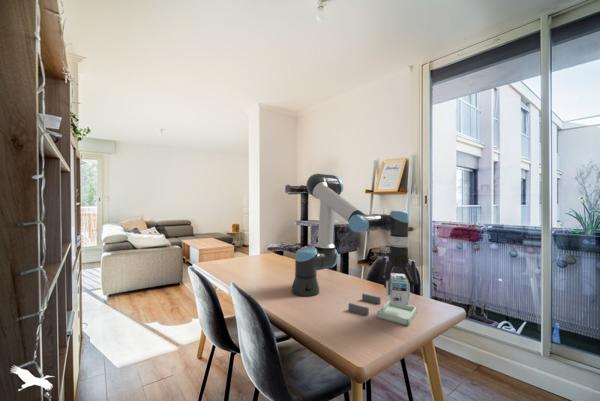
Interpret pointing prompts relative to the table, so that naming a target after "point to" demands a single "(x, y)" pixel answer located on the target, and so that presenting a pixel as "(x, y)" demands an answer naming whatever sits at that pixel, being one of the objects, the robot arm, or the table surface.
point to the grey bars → (361, 308)
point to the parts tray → (397, 313)
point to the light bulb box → (398, 289)
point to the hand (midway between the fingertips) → (398, 297)
